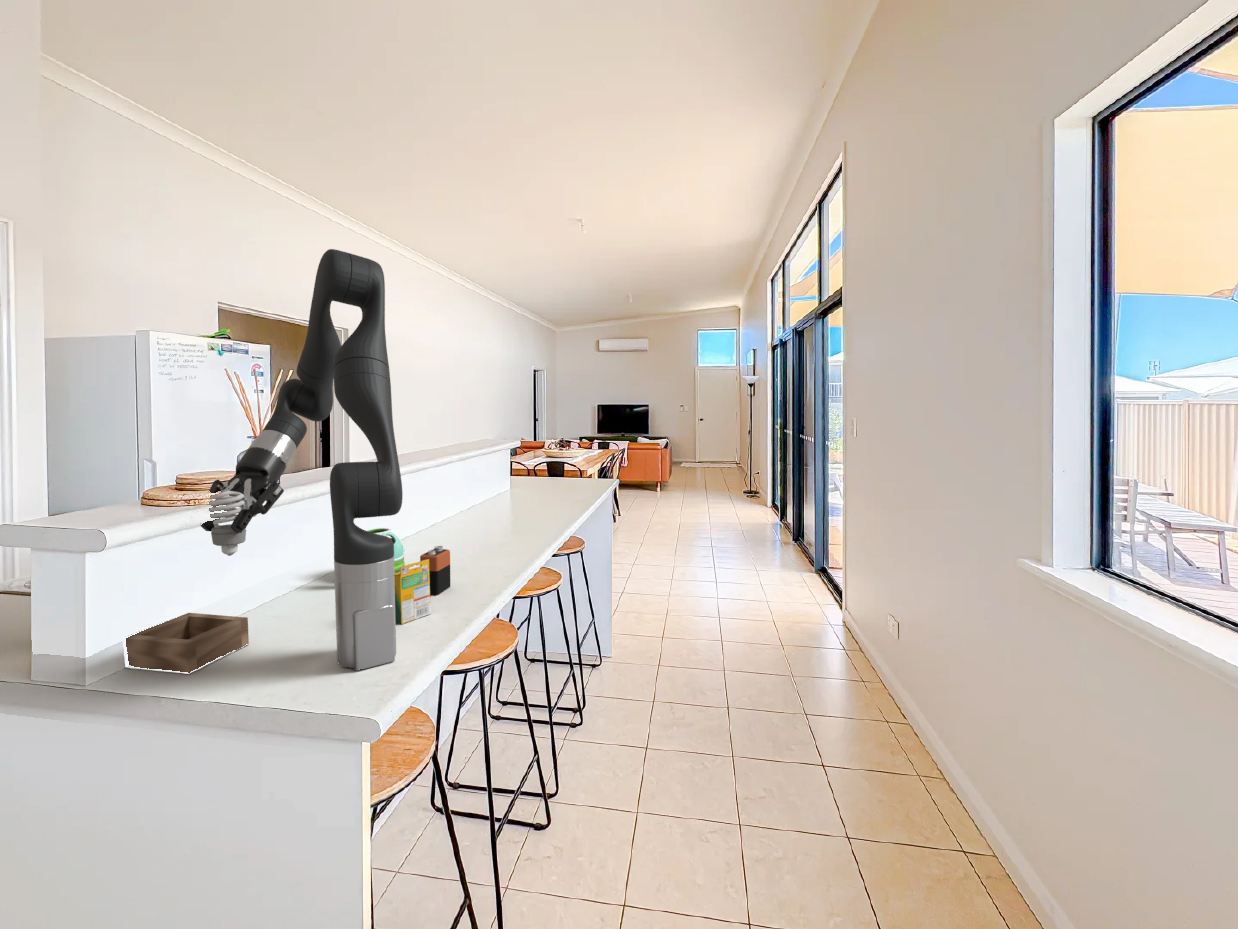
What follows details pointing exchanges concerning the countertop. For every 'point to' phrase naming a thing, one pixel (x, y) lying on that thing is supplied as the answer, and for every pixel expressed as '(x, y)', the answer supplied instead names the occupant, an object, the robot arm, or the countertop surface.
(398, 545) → the turtle holder
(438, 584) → the battery
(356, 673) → the countertop surface
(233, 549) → the light bulb
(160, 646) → the square brown bulb holder
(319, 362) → the robot arm
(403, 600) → the crayon box
